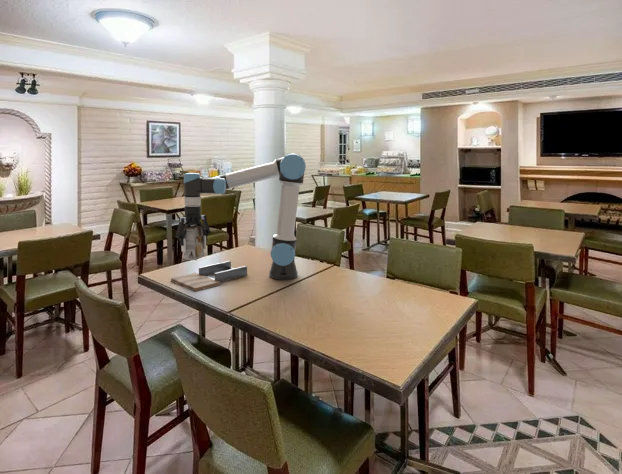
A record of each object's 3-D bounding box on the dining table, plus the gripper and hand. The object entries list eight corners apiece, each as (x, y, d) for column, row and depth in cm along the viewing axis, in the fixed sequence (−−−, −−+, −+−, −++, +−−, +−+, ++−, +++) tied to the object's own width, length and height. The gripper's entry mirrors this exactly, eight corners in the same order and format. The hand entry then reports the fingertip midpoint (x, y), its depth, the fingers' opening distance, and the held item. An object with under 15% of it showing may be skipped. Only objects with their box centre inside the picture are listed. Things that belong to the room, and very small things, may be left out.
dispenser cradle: (247, 275, 222) (247, 266, 221) (216, 283, 207) (215, 273, 206) (229, 269, 231) (229, 260, 230) (199, 276, 217) (198, 267, 216)
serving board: (220, 284, 205) (220, 281, 204) (195, 291, 194) (195, 288, 194) (195, 275, 219) (195, 272, 219) (171, 281, 209) (170, 278, 208)
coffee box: (192, 255, 209) (191, 223, 206) (204, 256, 208) (203, 224, 205) (183, 259, 200) (182, 227, 197) (195, 260, 199) (194, 227, 196)
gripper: (208, 202, 210) (209, 245, 214) (166, 206, 193) (168, 252, 197) (217, 204, 205) (218, 247, 209) (174, 208, 188) (176, 255, 192)
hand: (194, 250), depth 203 cm, fingers closed on coffee box, 11 cm apart
